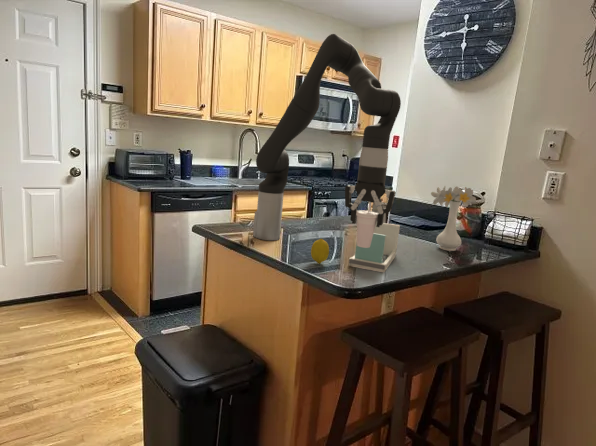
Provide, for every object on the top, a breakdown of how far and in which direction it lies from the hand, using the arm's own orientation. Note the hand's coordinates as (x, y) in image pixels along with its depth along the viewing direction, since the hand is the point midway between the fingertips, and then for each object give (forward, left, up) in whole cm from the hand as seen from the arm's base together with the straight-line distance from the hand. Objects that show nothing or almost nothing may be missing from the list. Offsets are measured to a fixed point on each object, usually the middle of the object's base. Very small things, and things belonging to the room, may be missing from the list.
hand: (366, 224), depth 120 cm
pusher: (0, +11, -14) cm, 18 cm away
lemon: (-14, +5, -15) cm, 21 cm away
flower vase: (+21, +58, -15) cm, 63 cm away
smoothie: (0, 0, -6) cm, 6 cm away
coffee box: (-4, +45, -16) cm, 48 cm away
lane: (0, +21, -15) cm, 26 cm away
